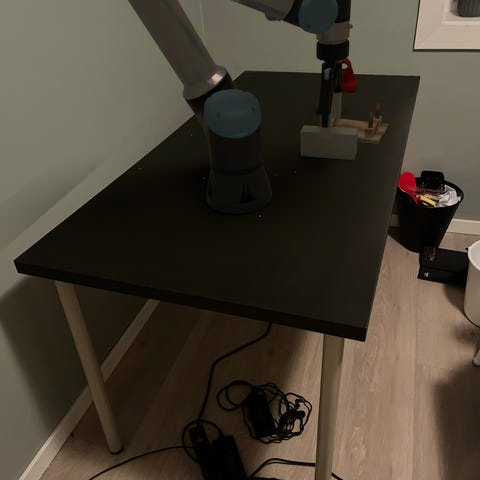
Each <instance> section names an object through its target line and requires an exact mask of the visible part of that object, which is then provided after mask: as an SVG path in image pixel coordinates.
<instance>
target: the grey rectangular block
mask: <svg viewBox="0 0 480 480" xmlns="http://www.w3.org/2000/svg"><path fill="white" fill-rule="evenodd" d="M357 138H358V129H355V128H338V127H332V131H331V140H330V139H320V125H319V126H318V125H303V126H302V128H301V130H300V156H301V157H311V158H324V159H334V160H335V159H336V160H348V161H355V158H356V155H357V148H358V142H357Z"/></svg>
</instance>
